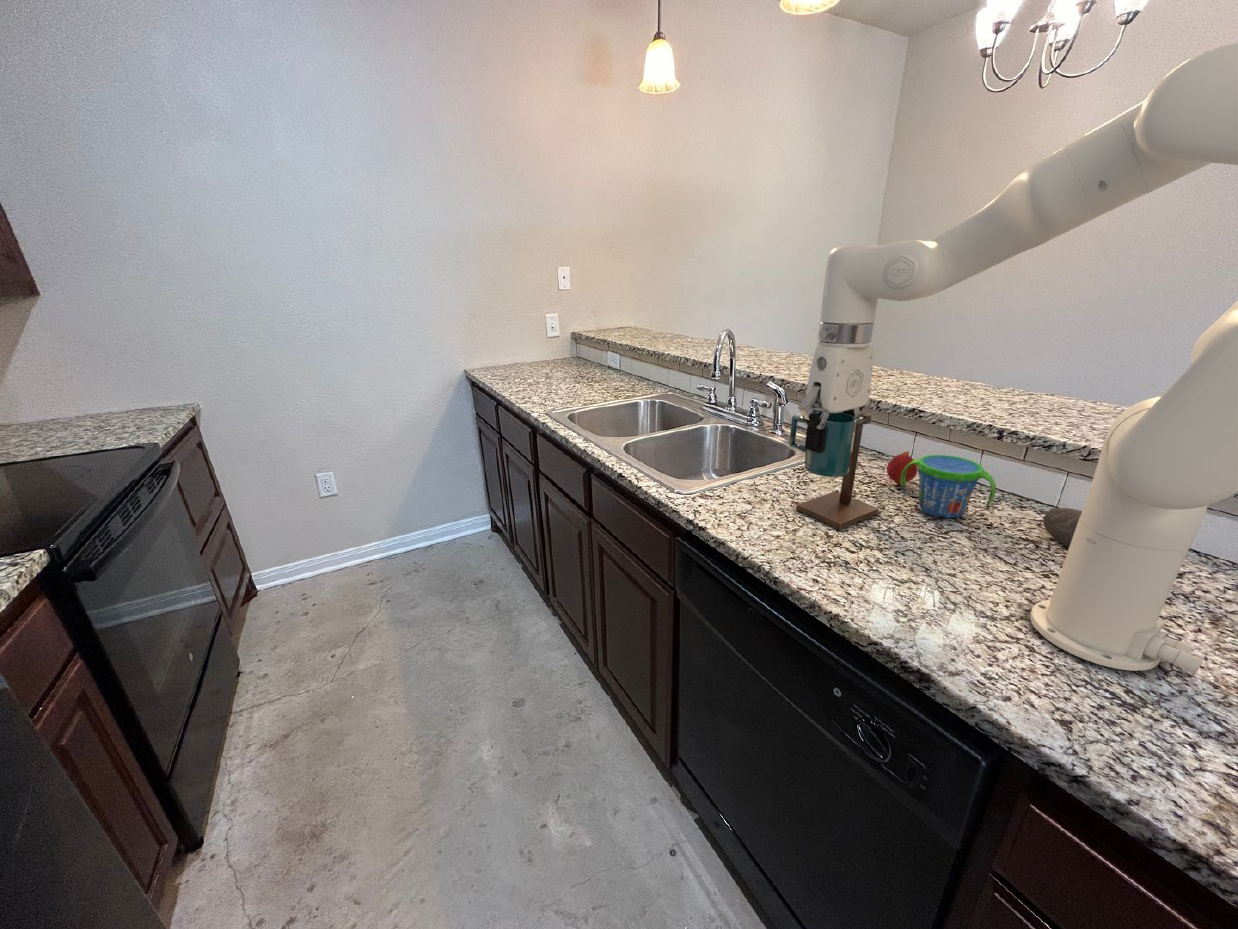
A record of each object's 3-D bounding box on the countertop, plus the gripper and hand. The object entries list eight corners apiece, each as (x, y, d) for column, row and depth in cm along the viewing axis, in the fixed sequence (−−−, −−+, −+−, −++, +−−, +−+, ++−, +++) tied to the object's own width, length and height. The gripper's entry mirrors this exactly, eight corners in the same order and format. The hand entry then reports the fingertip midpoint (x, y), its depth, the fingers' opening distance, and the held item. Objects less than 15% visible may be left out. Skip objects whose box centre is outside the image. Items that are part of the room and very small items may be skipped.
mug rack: (878, 513, 98) (896, 416, 91) (817, 538, 90) (832, 432, 83) (834, 496, 106) (847, 405, 99) (775, 517, 98) (785, 419, 91)
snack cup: (887, 506, 101) (896, 459, 98) (909, 491, 108) (918, 447, 104) (975, 534, 90) (989, 482, 86) (994, 516, 96) (1008, 467, 93)
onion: (887, 488, 110) (893, 454, 107) (882, 478, 115) (888, 445, 112) (916, 491, 108) (923, 456, 105) (910, 481, 113) (917, 447, 110)
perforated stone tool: (1028, 531, 91) (1038, 496, 88) (1054, 529, 91) (1065, 494, 89) (1113, 577, 77) (1129, 538, 74) (1143, 575, 77) (1160, 535, 75)
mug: (857, 471, 82) (865, 418, 78) (830, 480, 78) (838, 425, 75) (801, 452, 91) (806, 404, 87) (775, 459, 87) (779, 409, 84)
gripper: (828, 341, 68) (813, 464, 74) (902, 332, 76) (882, 442, 82) (785, 337, 74) (774, 450, 80) (857, 328, 82) (842, 431, 88)
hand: (829, 445), depth 81 cm, fingers closed on mug, 6 cm apart
